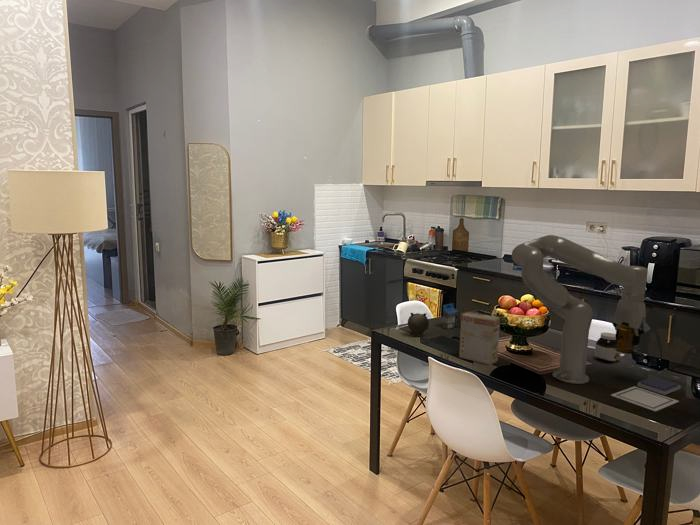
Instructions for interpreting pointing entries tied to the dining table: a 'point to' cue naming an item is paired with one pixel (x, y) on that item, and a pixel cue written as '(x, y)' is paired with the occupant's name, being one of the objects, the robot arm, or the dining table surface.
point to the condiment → (625, 340)
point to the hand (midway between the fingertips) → (626, 342)
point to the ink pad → (659, 385)
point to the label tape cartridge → (450, 316)
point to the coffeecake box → (479, 337)
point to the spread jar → (607, 348)
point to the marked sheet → (644, 398)
